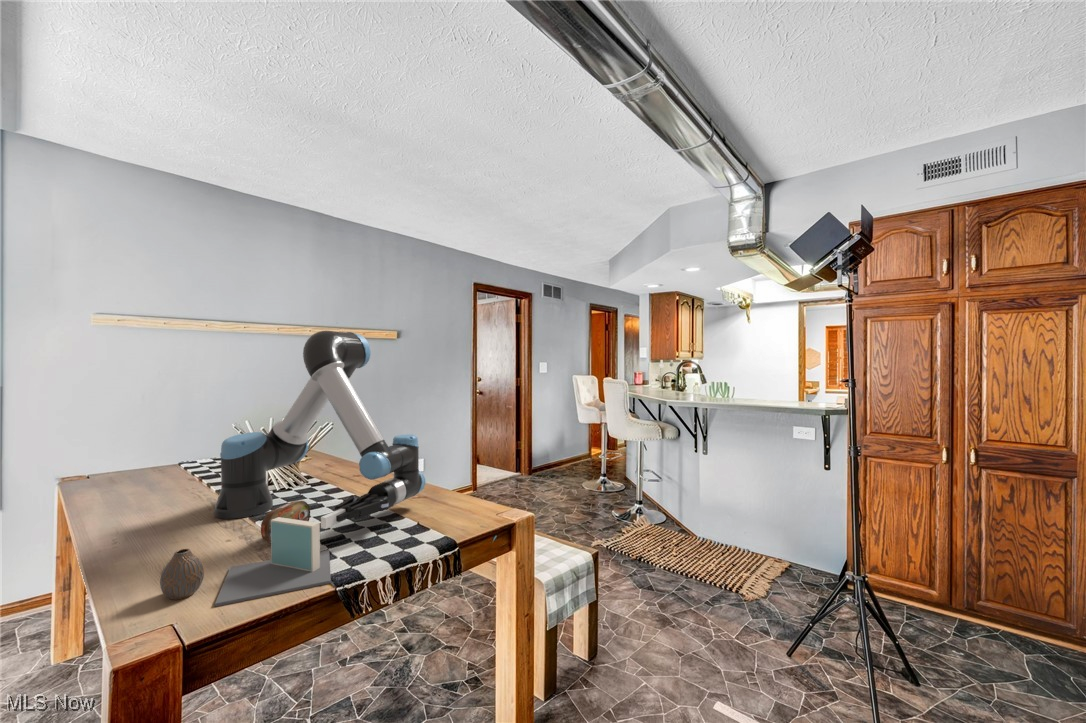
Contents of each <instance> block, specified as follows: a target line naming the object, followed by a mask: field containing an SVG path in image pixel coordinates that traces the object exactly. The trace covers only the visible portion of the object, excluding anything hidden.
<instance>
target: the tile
mask: <svg viewBox="0 0 1086 723" xmlns="http://www.w3.org/2000/svg"><path fill="white" fill-rule="evenodd" d="M320 529H321V522H314V521H310V520H309V521H302V520H295V519H288V518H281V517H278V518H275V519H272V520H271V543H270V560H271V564H274V565H280V566H285V567H290V568H295V569H301V570H306V571H311V572H313V571H315V570H317V569H319V568H320V551H321V542H320V541H321V540H320V538H321V536H320V534H321V533H320V531H321V530H320Z"/></svg>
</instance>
